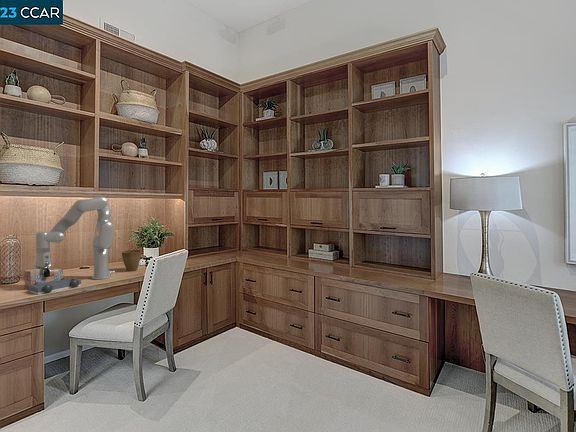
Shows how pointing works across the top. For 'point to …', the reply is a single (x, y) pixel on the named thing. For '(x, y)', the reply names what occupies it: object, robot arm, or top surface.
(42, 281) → the stack of blocks
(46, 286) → the chassis
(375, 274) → the top surface
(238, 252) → the top surface
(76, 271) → the top surface
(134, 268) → the plant pot
